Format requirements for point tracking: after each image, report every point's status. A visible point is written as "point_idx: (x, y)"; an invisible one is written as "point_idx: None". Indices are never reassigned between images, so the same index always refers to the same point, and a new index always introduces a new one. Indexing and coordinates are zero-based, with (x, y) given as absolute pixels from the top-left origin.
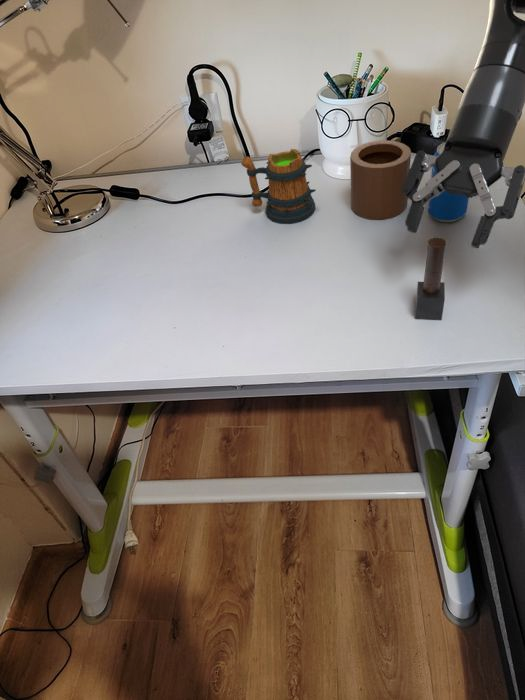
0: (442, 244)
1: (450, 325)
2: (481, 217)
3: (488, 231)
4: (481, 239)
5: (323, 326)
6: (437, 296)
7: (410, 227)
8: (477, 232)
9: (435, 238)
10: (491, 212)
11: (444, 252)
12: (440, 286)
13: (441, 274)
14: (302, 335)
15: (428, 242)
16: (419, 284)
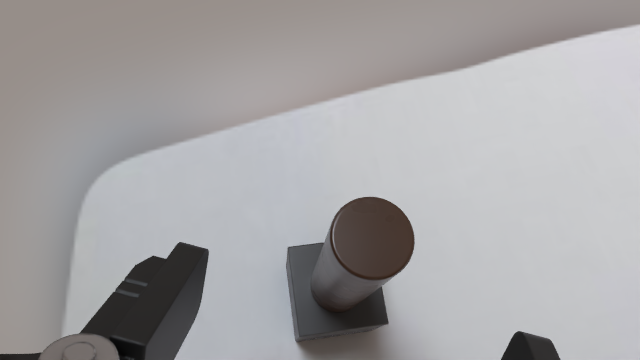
0: (344, 220)
1: (259, 249)
2: (147, 336)
3: (114, 294)
4: (157, 266)
5: (580, 180)
6: (311, 255)
7: (535, 335)
8: (176, 276)
9: (386, 263)
10: (72, 347)
11: (325, 242)
12: (309, 309)
13: (315, 267)
14: (612, 140)
15: (411, 227)
16: (380, 307)
